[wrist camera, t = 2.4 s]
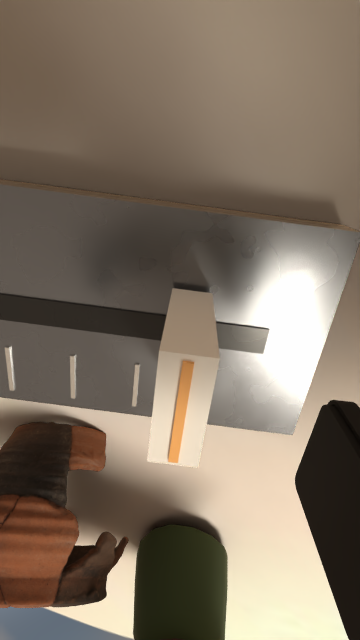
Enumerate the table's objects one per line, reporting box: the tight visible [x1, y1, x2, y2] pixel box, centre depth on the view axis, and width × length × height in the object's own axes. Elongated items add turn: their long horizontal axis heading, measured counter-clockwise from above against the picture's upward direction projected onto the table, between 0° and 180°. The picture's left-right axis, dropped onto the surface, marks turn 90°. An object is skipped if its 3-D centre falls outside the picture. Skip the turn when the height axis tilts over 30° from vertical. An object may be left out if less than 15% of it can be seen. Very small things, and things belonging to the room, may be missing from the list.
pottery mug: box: [0, 422, 128, 608], centre depth 19 cm, size 12×10×8 cm
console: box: [0, 179, 360, 435], centre depth 15 cm, size 22×10×2 cm, turn 83°
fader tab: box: [147, 288, 220, 468], centre depth 12 cm, size 2×4×5 cm, turn 173°
